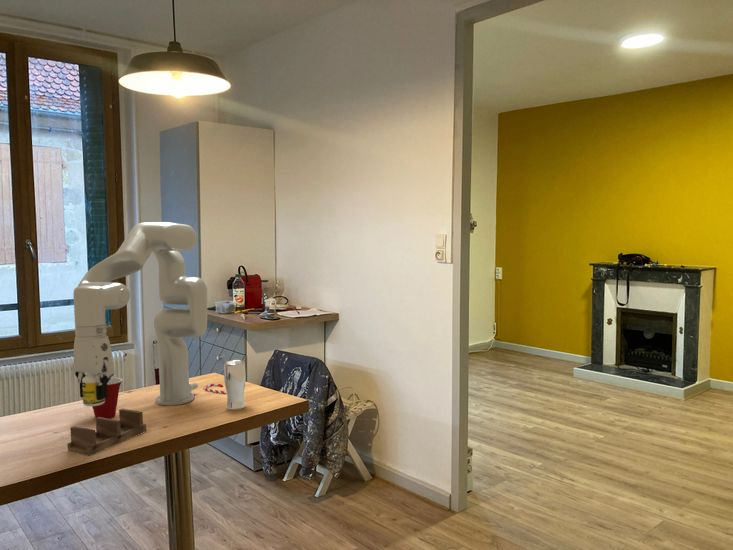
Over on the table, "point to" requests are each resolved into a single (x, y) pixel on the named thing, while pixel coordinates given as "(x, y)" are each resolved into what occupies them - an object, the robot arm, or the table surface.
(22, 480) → the table surface
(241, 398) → the beer glass
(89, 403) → the supplement bottle
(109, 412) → the plastic cup
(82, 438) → the rack
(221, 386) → the candy cane
